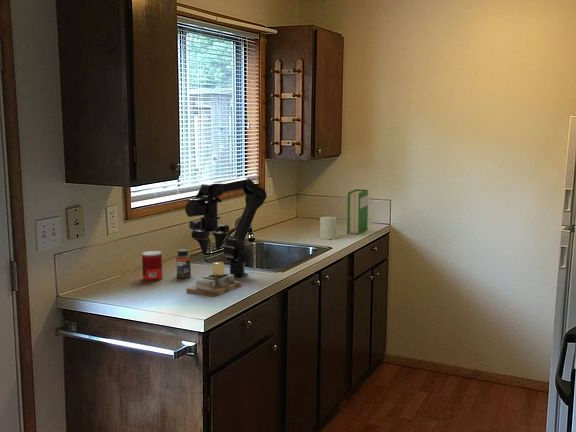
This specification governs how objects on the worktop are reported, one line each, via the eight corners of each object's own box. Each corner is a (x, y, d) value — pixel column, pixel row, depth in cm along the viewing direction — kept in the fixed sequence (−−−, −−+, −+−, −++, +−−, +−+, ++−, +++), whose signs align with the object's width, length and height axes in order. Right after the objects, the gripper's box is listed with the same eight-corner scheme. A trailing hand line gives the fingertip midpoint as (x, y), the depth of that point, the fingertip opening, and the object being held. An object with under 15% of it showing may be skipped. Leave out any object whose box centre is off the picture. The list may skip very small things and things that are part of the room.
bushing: (217, 281, 251) (216, 261, 250) (226, 282, 249) (225, 262, 248) (210, 283, 247) (210, 263, 246) (220, 285, 245) (219, 264, 244)
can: (331, 240, 344) (331, 218, 342) (316, 238, 349) (316, 217, 347) (339, 237, 352) (339, 216, 350) (324, 236, 356) (324, 215, 355)
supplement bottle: (184, 274, 269) (183, 248, 268) (193, 276, 266) (193, 249, 264) (173, 276, 265) (172, 250, 263) (183, 279, 261) (182, 252, 259)
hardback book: (359, 235, 359) (360, 193, 356) (347, 234, 362) (347, 192, 358) (367, 230, 376) (368, 189, 372) (355, 229, 378) (355, 189, 375)
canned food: (166, 278, 263) (165, 252, 261) (152, 282, 256) (151, 255, 254) (153, 275, 267) (152, 250, 265) (138, 279, 260) (137, 253, 259)
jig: (213, 281, 257) (213, 270, 256) (240, 285, 251) (240, 274, 250) (186, 292, 241) (186, 280, 240) (214, 296, 235) (214, 284, 234)
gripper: (207, 209, 265) (208, 246, 267) (179, 215, 249) (180, 254, 251) (229, 211, 260) (230, 249, 262) (203, 217, 243) (203, 257, 246)
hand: (211, 252), depth 255 cm, fingers open, 9 cm apart
